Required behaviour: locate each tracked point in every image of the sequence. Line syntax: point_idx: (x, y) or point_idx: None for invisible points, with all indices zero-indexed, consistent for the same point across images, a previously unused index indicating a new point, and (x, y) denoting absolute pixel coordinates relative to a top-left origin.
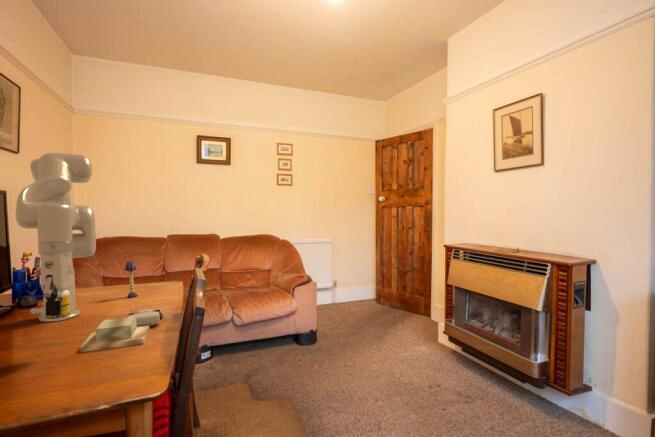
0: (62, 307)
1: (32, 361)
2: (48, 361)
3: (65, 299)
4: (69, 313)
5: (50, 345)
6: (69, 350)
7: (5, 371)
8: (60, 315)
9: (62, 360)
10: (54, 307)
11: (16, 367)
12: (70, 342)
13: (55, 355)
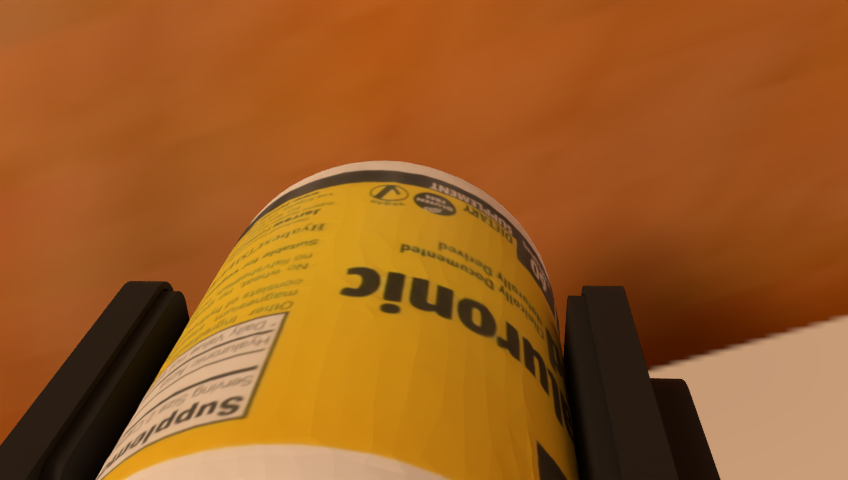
0: (525, 339)
1: (551, 255)
2: (620, 130)
3: (478, 417)
4: (379, 179)
5: (186, 245)
6: (381, 33)
7: (687, 360)
8: (537, 277)
9: (660, 8)
10: (701, 461)
11: (638, 320)
12: (141, 100)
13: (478, 120)
